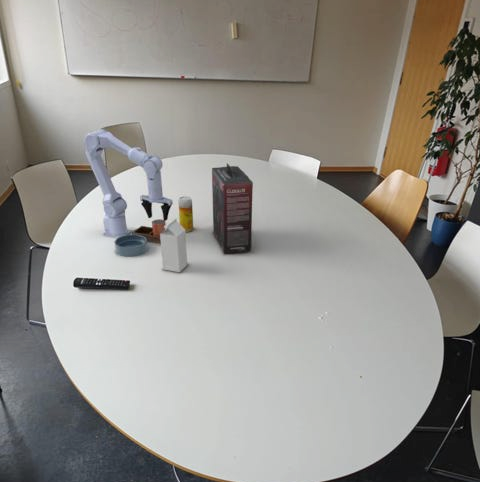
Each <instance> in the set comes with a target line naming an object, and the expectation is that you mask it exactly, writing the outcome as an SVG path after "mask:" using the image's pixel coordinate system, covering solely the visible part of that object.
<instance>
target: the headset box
mask: <svg viewBox="0 0 480 482" xmlns="http://www.w3.org/2000/svg"><path fill="white" fill-rule="evenodd" d="M253 188H254V182H253V180H251V179H250V178H249V176H248V175H247V174H246V173H245V171H244V170H242V169H241V168H240V167H239V166H238V165H237V166H236V165H230V164H229V163H226V166H220V167H219V166H218V167H211V189H212V193H211V195H212V227H213V231H212V232H213V235H214V236H215V238H216V241H217V243H218V244H219V246H220V248H221V251H222V252H223V254H235V253H245V252H246V253H247V252H252V235H253V234H252V233H253V232H252V231H253V230H252V227H253V192H254V191H253V190H254V189H253Z"/></svg>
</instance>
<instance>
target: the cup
mask: <svg viewBox="0 0 480 482" xmlns="http://www.w3.org/2000/svg"><path fill="white" fill-rule="evenodd" d="M165 225H167V224H166V221H164V219H154V220H152V221H151V227H152V229H153V236H158V237H160V234H161V233H162V232H163V231H164V230H165V228H164V226H165Z"/></svg>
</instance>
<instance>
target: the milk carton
mask: <svg viewBox="0 0 480 482" xmlns="http://www.w3.org/2000/svg"><path fill="white" fill-rule="evenodd" d="M164 228H165V230H164V231H163V232H162V233H161V234H160V240H161V244H160V249H161V251H160V252H161V261H162V262H161V263H162V269H163V270H165V271H170V272H174V273H175V272H176V273H181V272H182V271H183V270H184V268H186V267H187V265H188V253H187V251H188V250H187V236H186V232H185V229H184V228H183V227H182V226H181V225H180V222H178V220H177V218H174V219H173V220H172V221H171V222H169V223H167V224H166V225H165V226H164Z"/></svg>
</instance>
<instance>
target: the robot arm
mask: <svg viewBox="0 0 480 482" xmlns="http://www.w3.org/2000/svg"><path fill="white" fill-rule="evenodd" d="M82 142H83V145H84V147H85V156H86V158H87V161H88V163H89V165H90V168H91V170H92V172H93V174H94V177H95V179H96V181H97V183H98V186H99V188H100V190H101V192H102V195H103V199H102V205H103V212H104V216H103V227H104V233H103V235H106V236H112V237H116V238H119V237H121V236H125V235H129V234H130V233H132V230H130V229H128V226H127V219H126V210H127V209H128V203H127V201H126V200H125V199H124V197H123V196H122V194H121V193H120V192H118V191H117V190H116V188H115V185H114V183H113V181H112V178H111V176H110V174H109V172H108V169H107V167H106V164H105V162H104V160H103V157H102V154H103V152H104V149H105V148H106V149H107V148H111V149H114V150H115V151H118V152H119V153H121V154H123V155H126V156H127V157H128V160H129V161H130V162H131V163H133V164H135V165H137V166H139V167H141V168H142V169H143V171H144V172H145V174H146V182H147V190H148V195H145V194H141V195H140V196H139V200H140V203H141V207H143V209H144V211H145V213H146V215H147V218H148V219H151V218H152V217H153V204H154V203H155V204H162V205H160V208H161V212H162V218H163V219H162V220H164V221H165V222H166V221H168V218H169V213H170V210H171V207H172V205H173V202H174V201H173V199H171V198H168V197H165V196H163V193H164V192H163V181H162V171H161V170H162V168H163V161H162V160H161V158H160V157H159V156H158V155H153V156H152V155H151V154H150V153H147V152H145V151H143V150H142V148H141V147H137V146H136V147H131V146H129V145H128V144H126V143H124V142H123V141H121V140H120V139H118V138H117V137H116V136H114V135H113V134H112V132H109V131H107V130H106V129H104V128H100V129H98V130H95V131H92V132H88V133H86V134H85V136H84V139H83V141H82Z"/></svg>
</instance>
